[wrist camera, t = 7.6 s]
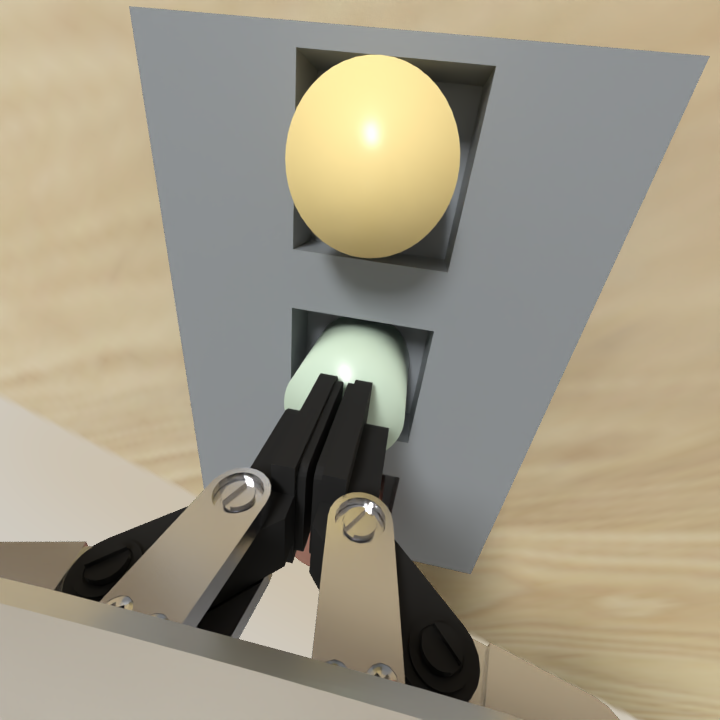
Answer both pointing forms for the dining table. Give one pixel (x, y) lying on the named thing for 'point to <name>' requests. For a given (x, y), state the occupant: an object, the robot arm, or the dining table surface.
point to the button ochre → (372, 156)
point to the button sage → (359, 368)
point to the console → (412, 266)
